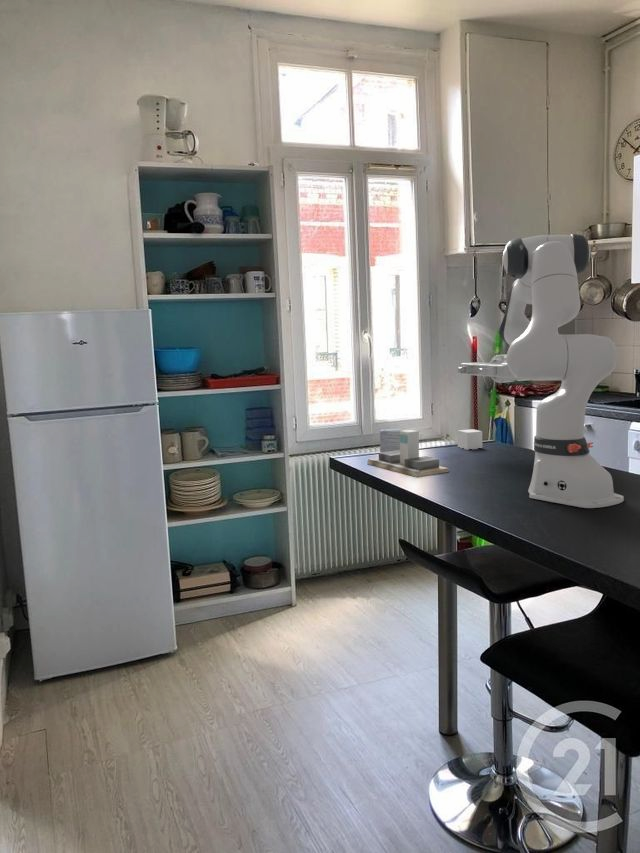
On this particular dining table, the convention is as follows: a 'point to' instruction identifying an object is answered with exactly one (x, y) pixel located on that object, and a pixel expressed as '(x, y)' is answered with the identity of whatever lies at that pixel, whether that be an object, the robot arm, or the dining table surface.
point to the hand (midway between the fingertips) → (469, 370)
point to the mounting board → (423, 472)
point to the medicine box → (389, 440)
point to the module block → (409, 445)
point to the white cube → (470, 439)
